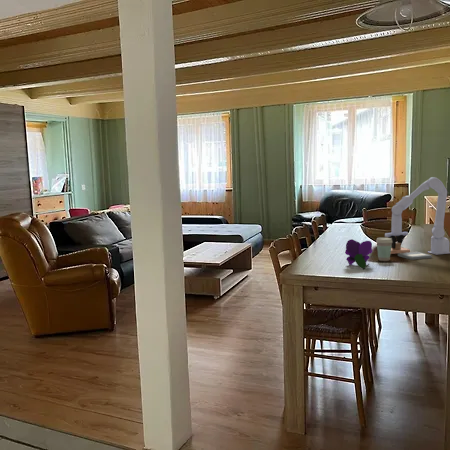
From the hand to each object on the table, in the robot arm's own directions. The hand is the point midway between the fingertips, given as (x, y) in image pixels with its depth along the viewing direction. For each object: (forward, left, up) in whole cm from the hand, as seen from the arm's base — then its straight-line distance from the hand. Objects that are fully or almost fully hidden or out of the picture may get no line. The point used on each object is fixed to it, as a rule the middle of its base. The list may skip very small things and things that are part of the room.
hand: (396, 248), depth 277 cm
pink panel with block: (0, 0, -2) cm, 2 cm away
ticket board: (0, +17, -2) cm, 17 cm away
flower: (+40, +27, -3) cm, 48 cm away
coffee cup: (+20, +17, -3) cm, 26 cm away
